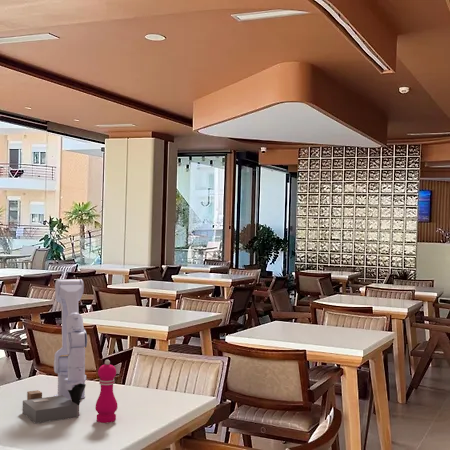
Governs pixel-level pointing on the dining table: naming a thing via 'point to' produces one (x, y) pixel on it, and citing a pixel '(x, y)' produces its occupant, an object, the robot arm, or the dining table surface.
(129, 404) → the dining table surface
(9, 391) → the dining table surface
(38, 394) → the walnut block
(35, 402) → the box
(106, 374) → the pepper mill
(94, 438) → the dining table surface
